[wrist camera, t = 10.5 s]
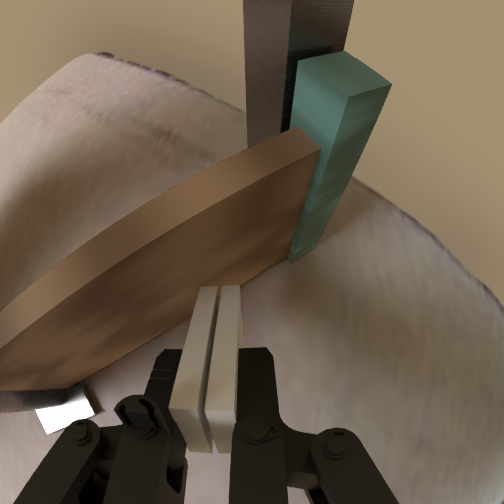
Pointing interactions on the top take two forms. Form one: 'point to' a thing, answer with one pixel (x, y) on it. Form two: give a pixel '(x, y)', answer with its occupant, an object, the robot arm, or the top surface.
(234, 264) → the wooden board
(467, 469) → the top surface
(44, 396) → the hinge post
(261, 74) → the post
